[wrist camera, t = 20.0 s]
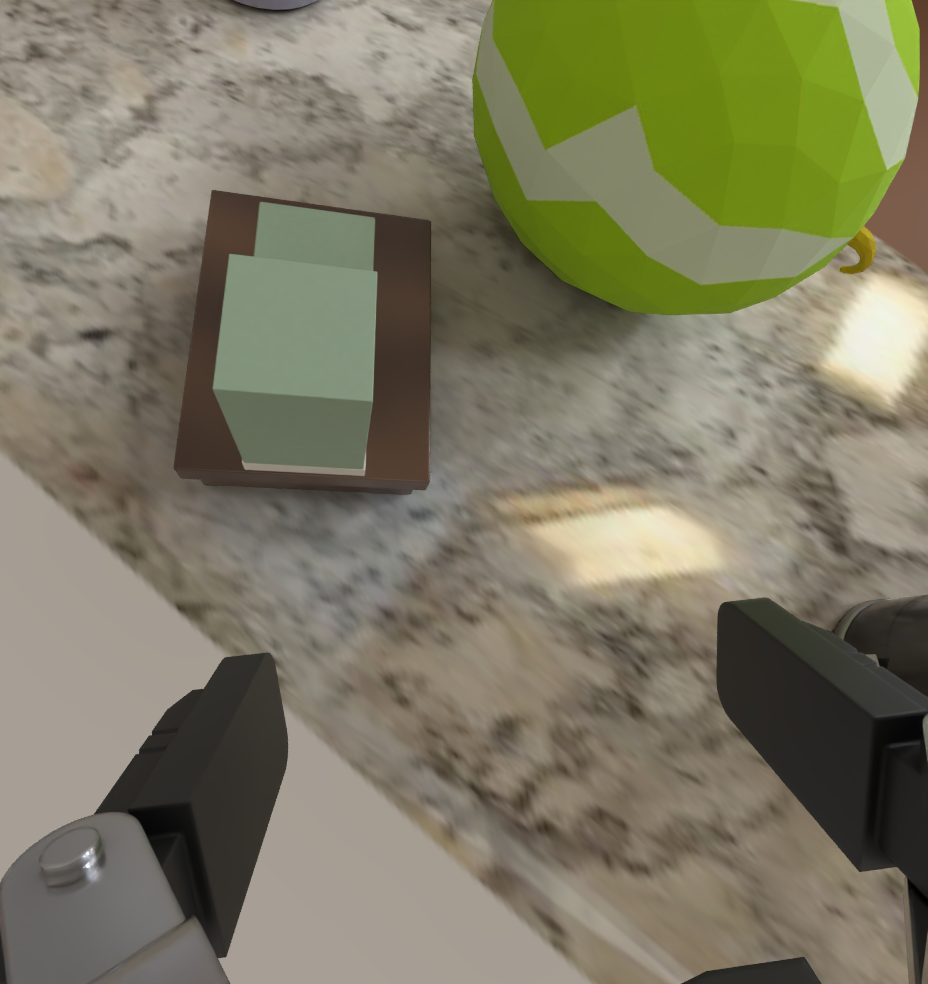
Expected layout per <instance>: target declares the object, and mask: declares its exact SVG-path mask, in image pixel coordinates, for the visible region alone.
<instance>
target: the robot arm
mask: <svg viewBox="0 0 928 984" xmlns="http://www.w3.org/2000/svg"><path fill="white" fill-rule="evenodd" d="M717 689H718V694H719V698H720V701H721V704H722V706H723V708H724V710H725V712H726V714H727V716H728V717H729V718H730V719H731V721H732V722H733V723H734V724H735V725H736V727H737V728H738V729H739V730H740V731H741V732H742V734H743V735H744V736H745V737H746V738H747V740H748V741H749V742H750V743H751V744H752V745H753V747H754V748H755V749H756V750H757V751H758V753H759V754H760V755H761V756H762V757H763V758H764V760H765V761H766V762H767V763H768V764H769V766H770V767H771V768H772V769H773V770H774V771H775V773H776V774H777V775H778V776H779V777H780V779H781V780H782V781H783V782H784V783H785V784H786V786H787V787H788V788H789V789H790V790H791V792H792V793H793V794H794V795H795V796H796V797H797V799H798V800H799V801H800V802H801V803H802V805H803V806H804V807H805V808H806V809H807V810H808V812H809V813H810V814H811V815H812V816H813V818H814V819H815V820H816V821H817V822H818V823H819V825H820V826H821V827H822V828H823V829H824V831H825V832H826V833H827V834H828V835H829V836H830V838H831V839H832V840H833V841H834V842H835V844H836V845H837V846H838V847H839V848H840V849H841V851H842V852H843V853H844V854H845V855H846V857H847V858H848V859H849V860H850V861H851V862H852V864H853V865H854V866H855V867H856V868H857V870H858V871H859V872H863V871H870V870H877V869H884V868H891V867H898V868H899V869H900V870H901V871H902V872H903V874H904V875H905V884H904V894H903V905H904V920H905V935H906V950H907V965H908V980H909V984H928V595H921V596H914V597H906V598H899V599H880V600H872V601H867V602H864V603H861V604H859V605H857V606H855V607H854V608H852V609H851V610H850V611H848V612H847V613H846V614H845V615H844V617H843V618H842V619H841V620H840V622H839V624H838V625H837V627H836V629H835V631H834V633H832V632H829V631H827V630H824V629H821V628H819V627H816V626H814V625H811V624H809V623H806V622H804V621H800V620H799V619H798V618H796V617H795V616H793V615H792V614H790V613H789V612H788V611H786V610H785V609H783V608H782V607H781V606H779V605H778V604H776V603H775V602H773V601H772V600H770V599H769V598H757V599H748V600H739V601H730V602H724V603H722V604H721V606H720V608H719V611H718V624H717ZM287 758H288V735H287V728H286V723H285V717H284V711H283V705H282V700H281V694H280V688H279V683H278V677H277V672H276V666H275V662H274V659H273V657H272V655H271V654H270V653H260V654H251V655H242V656H233V657H226V658H224V659H223V660H222V661H221V663H220V664H219V666H218V667H217V669H216V671H215V672H214V674H213V675H212V677H211V678H210V680H209V682H208V683H207V685H206V686H205V688H204V689H198V690H192V691H191V692H190V693H188V694H187V695H186V696H184V697H183V698H182V699H180V700H179V701H178V702H177V703H175V704H174V705H173V706H172V707H170V708H169V709H168V710H167V711H166V712H165V714H164V715H163V716H162V718H161V719H160V721H159V722H158V724H157V725H156V726H155V728H154V729H153V731H152V735H151V736H148V738H147V739H146V741H145V742H144V744H143V745H142V746H141V748H140V749H139V754H136V755H135V756H134V758H133V759H132V761H131V762H130V764H129V765H128V766H127V768H126V769H125V771H124V772H123V774H122V775H121V776H120V778H119V779H118V781H117V782H116V784H115V785H114V786H113V788H112V789H111V791H110V792H109V793H108V795H107V796H106V798H105V799H104V801H103V802H102V804H101V805H100V806H99V808H98V809H97V811H96V812H95V813H94V815H91V816H88V817H84V818H81V819H79V820H76V821H74V822H71V823H69V824H67V825H64V826H62V827H61V828H59V829H57V830H55V831H53V832H51V833H50V834H48V835H47V836H45V837H43V838H42V839H41V840H39V841H38V842H37V843H35V844H34V845H32V846H31V847H30V848H29V849H28V850H26V851H25V852H24V853H23V854H22V855H21V856H20V857H19V858H18V859H17V860H16V861H15V862H14V863H13V864H12V865H11V867H10V868H9V869H8V871H7V872H6V873H5V875H4V877H3V878H2V880H1V882H0V984H230V982H229V980H228V978H227V976H226V974H225V972H224V970H223V968H222V966H221V964H220V962H219V960H218V958H223V957H226V956H227V953H228V950H229V947H230V943H231V940H232V937H233V934H234V930H235V927H236V924H237V921H238V918H239V915H240V912H241V909H242V906H243V902H244V899H245V896H246V893H247V890H248V886H249V884H250V880H251V877H252V874H253V871H254V868H255V865H256V862H257V858H258V855H259V852H260V849H261V846H262V842H263V839H264V836H265V833H266V830H267V827H268V823H269V821H270V817H271V814H272V811H273V807H274V805H275V801H276V798H277V795H278V792H279V789H280V786H281V783H282V780H283V776H284V773H285V770H286V765H287ZM682 984H821V982H820V981H819V979H818V978H817V976H816V975H815V973H814V971H813V970H812V968H811V967H810V965H809V964H808V962H807V960H806V959H805V957H800V958H794V959H787V960H780V961H773V962H766V963H759V964H753V965H746V966H739V967H732V968H725V969H718V970H711V971H706V972H704V973H702V974H700V975H698V976H696V977H694V978H692V979H690V980H688V981H686V982H684V983H682Z"/></svg>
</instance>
